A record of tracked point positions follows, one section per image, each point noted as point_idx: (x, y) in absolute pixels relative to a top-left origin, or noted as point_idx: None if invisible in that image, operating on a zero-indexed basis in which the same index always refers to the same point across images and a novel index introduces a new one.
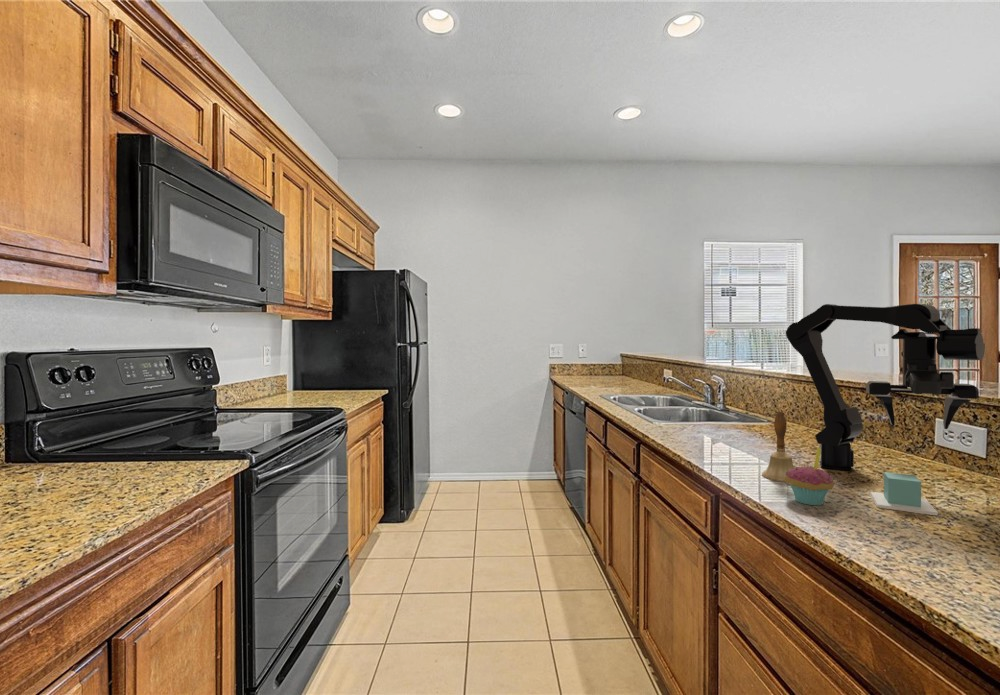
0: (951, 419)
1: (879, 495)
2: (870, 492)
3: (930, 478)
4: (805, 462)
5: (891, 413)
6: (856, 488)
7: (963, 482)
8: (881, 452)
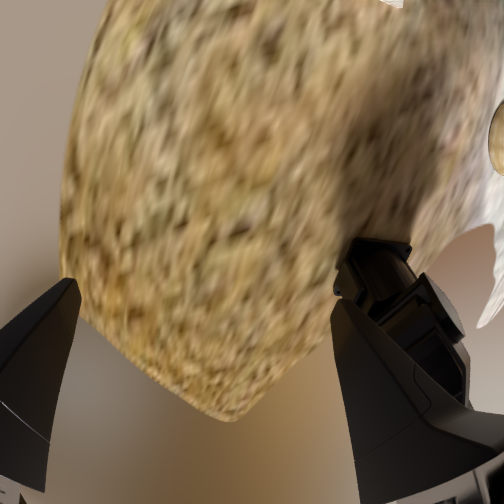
0: (20, 315)
1: None
2: (401, 5)
3: (169, 237)
4: None
5: (391, 356)
6: (413, 59)
7: (104, 228)
8: (218, 392)
